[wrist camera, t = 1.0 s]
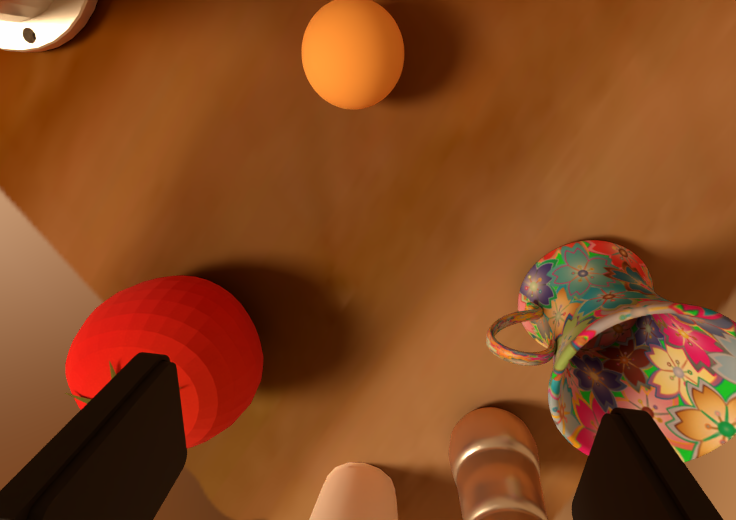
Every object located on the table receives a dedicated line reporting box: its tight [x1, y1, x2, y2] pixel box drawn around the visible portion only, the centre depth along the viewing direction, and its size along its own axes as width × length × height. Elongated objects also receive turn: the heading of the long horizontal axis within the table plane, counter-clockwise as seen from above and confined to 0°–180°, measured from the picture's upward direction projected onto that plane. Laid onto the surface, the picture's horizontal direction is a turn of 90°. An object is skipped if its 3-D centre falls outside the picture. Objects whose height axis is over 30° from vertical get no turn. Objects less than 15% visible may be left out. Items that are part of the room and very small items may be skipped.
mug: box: [486, 240, 736, 463], centre depth 26 cm, size 12×9×11 cm
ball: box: [302, 0, 404, 110], centre depth 24 cm, size 6×6×6 cm
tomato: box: [66, 275, 263, 448], centre depth 30 cm, size 11×12×10 cm
